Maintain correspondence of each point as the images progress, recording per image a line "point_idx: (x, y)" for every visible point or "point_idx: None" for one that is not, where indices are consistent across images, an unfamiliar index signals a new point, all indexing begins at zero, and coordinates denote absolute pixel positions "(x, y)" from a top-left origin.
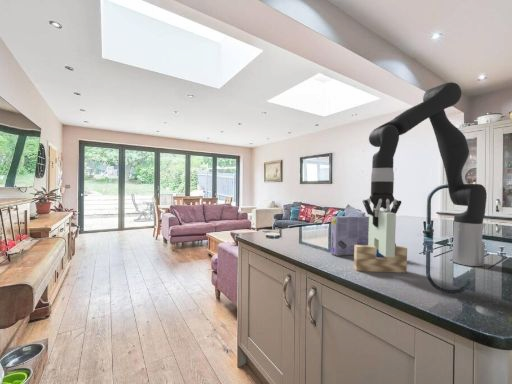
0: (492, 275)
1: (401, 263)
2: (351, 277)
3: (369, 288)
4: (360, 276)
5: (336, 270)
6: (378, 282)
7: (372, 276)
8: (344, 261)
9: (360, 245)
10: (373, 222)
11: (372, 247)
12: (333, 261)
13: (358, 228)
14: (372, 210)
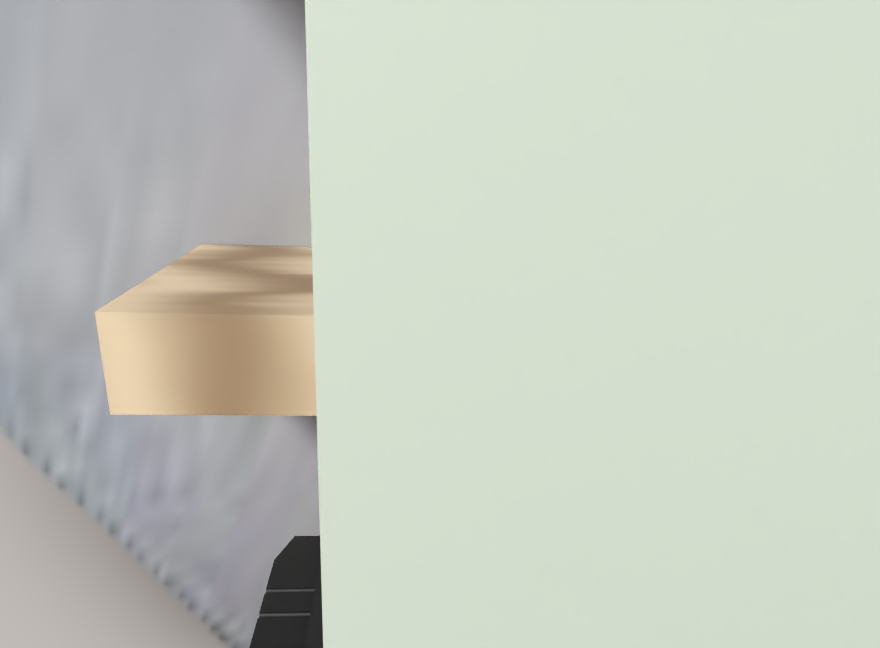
0: None
1: None
2: (133, 465)
3: (210, 620)
4: (209, 439)
5: (27, 322)
6: (304, 531)
7: (304, 429)
8: (148, 6)
9: (177, 340)
10: (283, 603)
11: (314, 415)
12: (14, 17)
13: None
14: (328, 548)
